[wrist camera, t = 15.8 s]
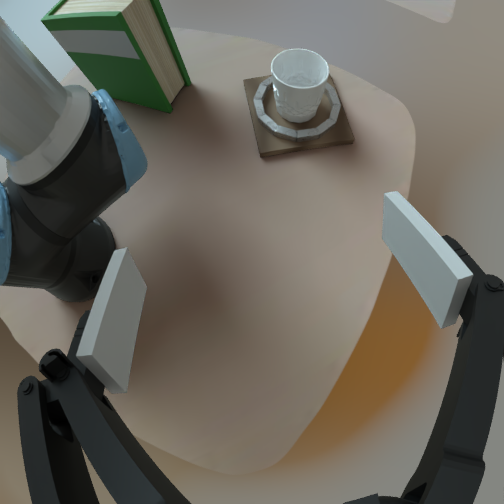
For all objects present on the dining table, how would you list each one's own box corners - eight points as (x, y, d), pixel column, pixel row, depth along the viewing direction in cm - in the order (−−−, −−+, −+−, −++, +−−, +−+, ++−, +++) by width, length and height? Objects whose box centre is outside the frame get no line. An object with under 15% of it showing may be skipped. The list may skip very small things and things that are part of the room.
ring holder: (260, 157, 47) (259, 148, 44) (244, 84, 49) (242, 74, 46) (352, 143, 46) (356, 134, 43) (326, 74, 49) (328, 63, 46)
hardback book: (191, 82, 50) (151, -18, 27) (170, 113, 49) (116, 15, 26) (121, 68, 52) (71, -11, 29) (101, 95, 52) (40, 20, 28)
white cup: (270, 89, 47) (268, 49, 37) (316, 87, 47) (323, 48, 37) (274, 127, 46) (274, 89, 36) (324, 125, 45) (334, 88, 36)
